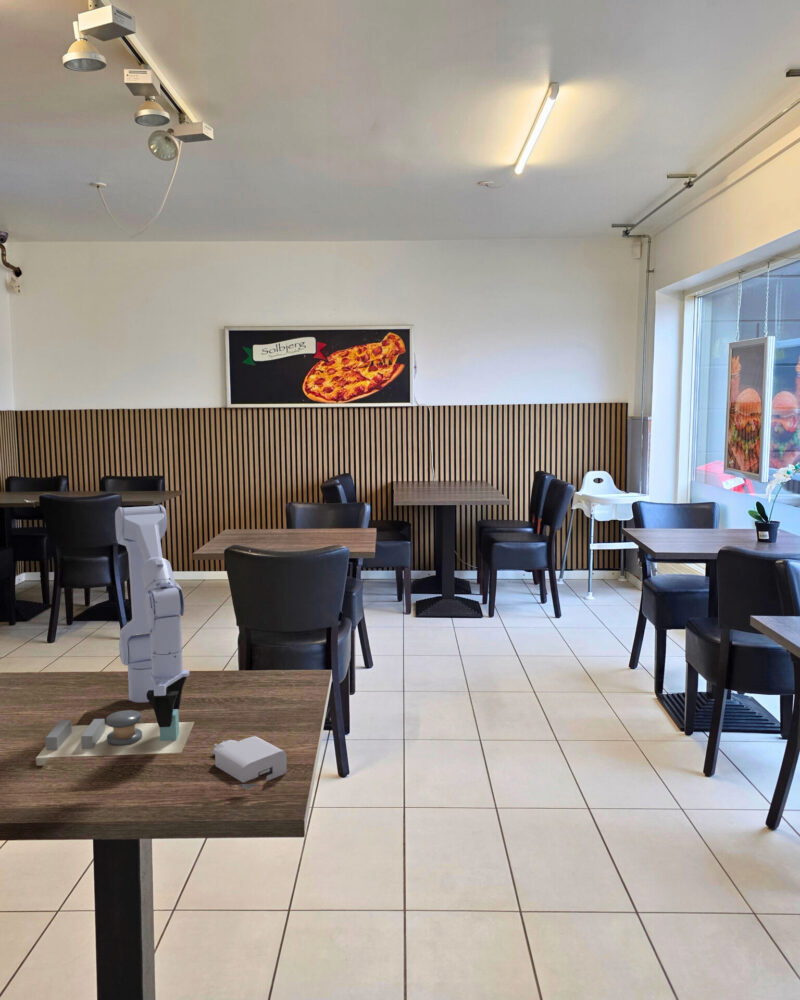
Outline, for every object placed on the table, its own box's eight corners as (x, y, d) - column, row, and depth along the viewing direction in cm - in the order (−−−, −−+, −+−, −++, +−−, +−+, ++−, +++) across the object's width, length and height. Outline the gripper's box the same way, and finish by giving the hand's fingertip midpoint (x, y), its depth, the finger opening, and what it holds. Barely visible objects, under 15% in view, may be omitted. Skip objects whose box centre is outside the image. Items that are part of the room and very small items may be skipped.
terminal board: (194, 728, 159) (194, 721, 158) (181, 760, 145) (181, 752, 145) (62, 733, 156) (62, 726, 156) (36, 765, 143) (35, 757, 142)
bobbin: (145, 731, 154) (144, 709, 153) (137, 745, 148) (136, 723, 147) (112, 732, 153) (111, 710, 153) (102, 746, 147) (101, 724, 146)
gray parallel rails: (105, 730, 154) (104, 718, 154) (92, 748, 146) (92, 735, 146) (61, 732, 153) (60, 720, 153) (46, 750, 145) (45, 737, 145)
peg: (179, 733, 153) (178, 709, 152) (176, 740, 150) (175, 715, 149) (163, 734, 153) (162, 709, 152) (160, 740, 150) (159, 715, 149)
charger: (239, 747, 151) (287, 774, 140) (197, 763, 144) (243, 792, 134) (239, 724, 150) (286, 749, 139) (196, 739, 143) (242, 766, 133)
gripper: (180, 661, 142) (183, 733, 144) (194, 638, 156) (196, 703, 158) (141, 662, 142) (144, 734, 143) (158, 639, 156) (161, 704, 158)
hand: (169, 718), depth 151 cm, fingers open, 7 cm apart
